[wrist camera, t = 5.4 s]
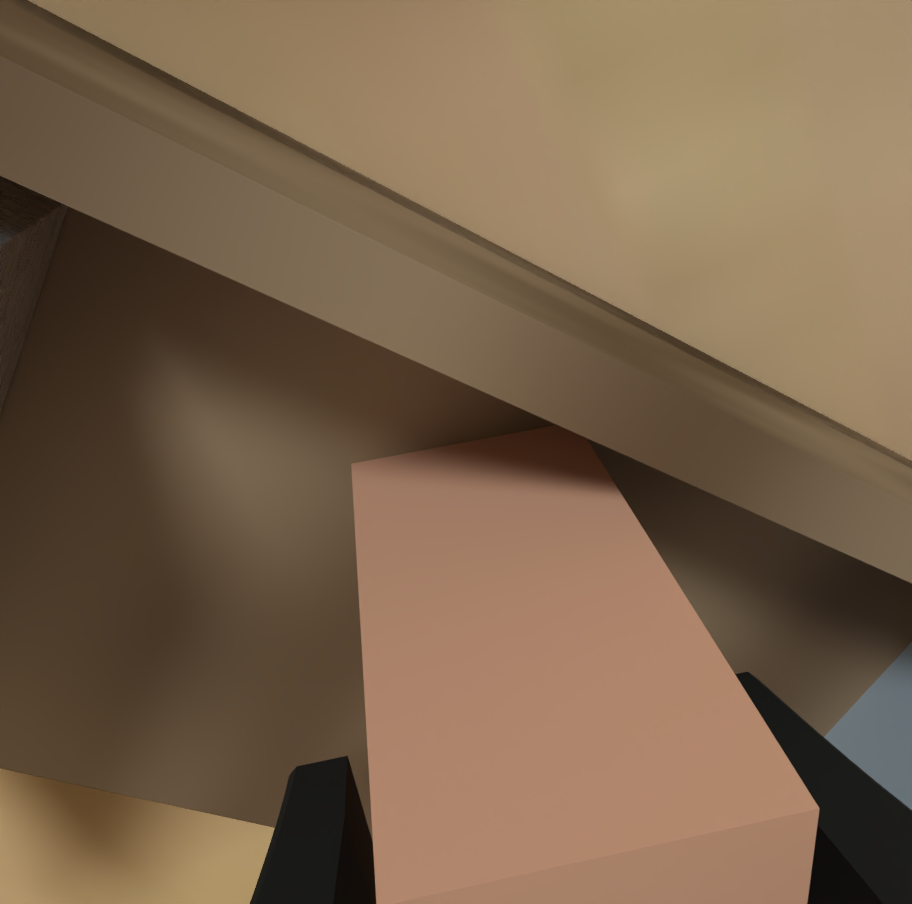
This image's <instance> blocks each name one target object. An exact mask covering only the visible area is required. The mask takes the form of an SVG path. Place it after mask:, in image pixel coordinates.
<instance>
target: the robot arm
mask: <svg viewBox="0 0 912 904" xmlns="http://www.w3.org/2000/svg"><path fill="white" fill-rule="evenodd" d="M735 675H736V677H737V678H738V680H739V681H740V683H741V685H742V686H743V688H744V689H745V691H746V693H747V694H748V696H749V697H750V699H751V701H752V702H753V704H754V705H755V707H756V708H757V710H758V712H759V713H760V715H761V716H762V718H763V720H764V721H765V723H766V724H767V726H768V728H769V729H770V731H771V732H772V734H773V735H774V737H775V739H776V740H777V742H778V743H779V745H780V747H781V748H782V750H783V751H784V753H785V754H786V756H787V758H788V759H789V761H790V762H791V764H792V766H793V767H794V769H795V770H796V772H797V774H798V775H799V777H800V778H801V780H802V781H803V783H804V785H805V786H806V788H807V789H808V791H809V793H810V794H811V796H812V797H813V799H814V801H815V802H816V804H817V805H818V807H819V808H820V809H819V817H818V825H817V832H816V840H815V848H814V856H813V863H812V871H811V879H810V887H809V894H808V902H807V904H912V810H911V809H910V808H908V807H907V806H906V805H905V804H903V803H902V802H901V801H900V800H899V799H897V798H896V797H895V796H894V795H892V794H891V793H890V792H889V791H887V790H886V789H885V788H884V787H882V786H881V785H880V784H879V783H877V782H876V781H875V780H874V779H873V778H871V777H870V776H869V775H868V774H867V773H865V772H864V771H863V770H862V769H861V768H859V767H858V766H857V765H856V764H855V763H853V762H852V761H851V760H850V759H849V758H847V757H846V756H845V755H844V754H843V753H842V752H840V751H839V750H838V749H837V748H836V747H835V746H833V745H832V744H831V743H830V742H829V741H828V740H827V739H825V738H824V737H823V736H822V735H821V734H820V733H818V732H817V731H816V730H815V729H814V728H813V727H812V726H810V725H809V724H808V723H807V722H806V721H805V720H804V719H802V718H801V717H800V716H799V715H798V714H797V713H796V712H794V711H793V710H792V709H791V708H790V707H789V706H788V705H787V704H785V703H784V702H783V701H782V700H781V699H780V698H779V697H778V696H777V695H775V694H774V693H773V692H772V691H771V690H770V689H769V688H768V687H766V686H765V685H764V684H763V683H762V682H761V681H760V680H759V679H758V678H756V677H755V676H754V675H752V674H751V673H749V672H743V673H738V674H735ZM250 904H376V887H375V870H374V853H373V841H372V838H371V834H370V831H369V827H368V824H367V820H366V817H365V813H364V810H363V807H362V803H361V800H360V796H359V793H358V789H357V786H356V782H355V779H354V776H353V772H352V769H351V765H350V762H349V758H348V756H343V757H339V758H334V759H329V760H324V761H320V762H315V763H310V764H305V765H301V766H297V767H296V768H295V769H294V770H293V771H292V772H291V774H290V775H289V778H288V783H287V787H286V791H285V795H284V798H283V802H282V806H281V809H280V813H279V816H278V820H277V823H276V826H275V830H274V833H273V836H272V839H271V843H270V846H269V849H268V852H267V855H266V858H265V861H264V864H263V867H262V870H261V873H260V876H259V879H258V882H257V885H256V888H255V891H254V893H253V896H252V899H251V902H250Z"/></svg>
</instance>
